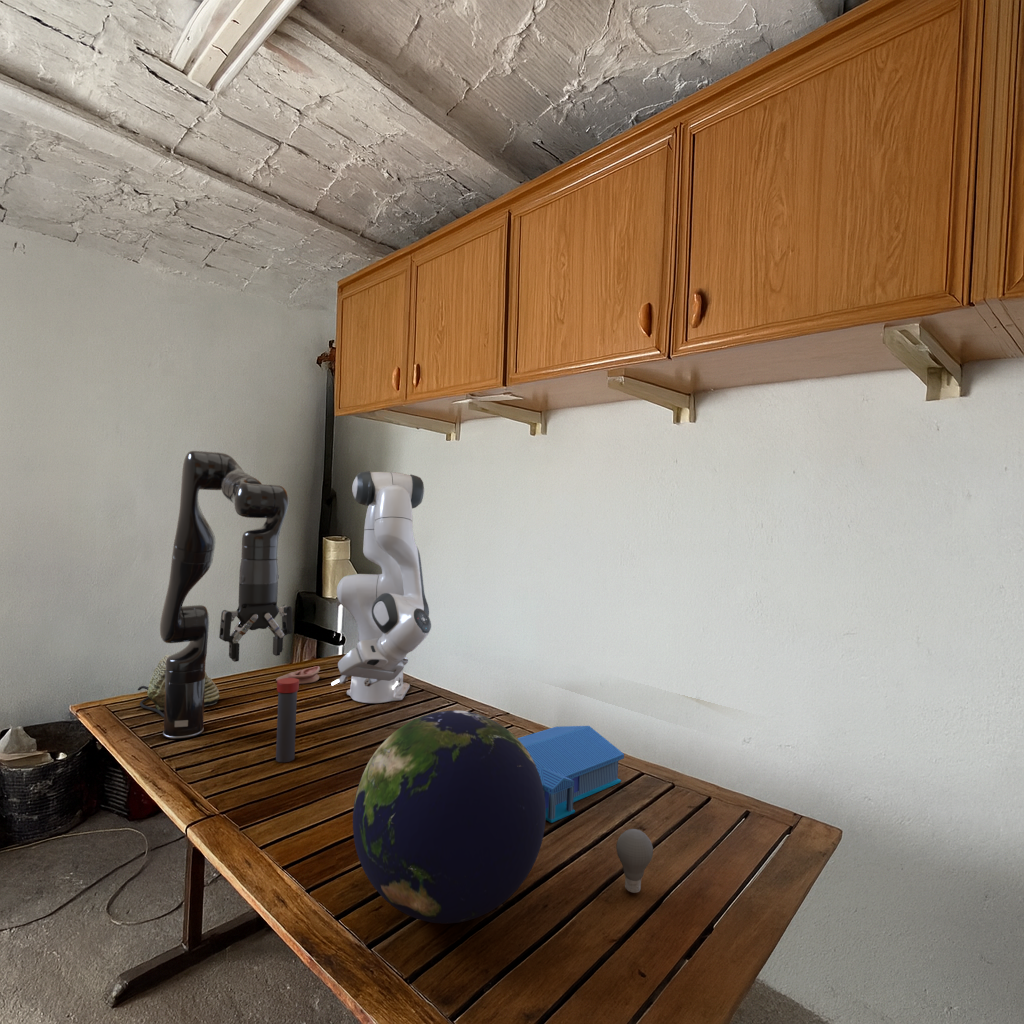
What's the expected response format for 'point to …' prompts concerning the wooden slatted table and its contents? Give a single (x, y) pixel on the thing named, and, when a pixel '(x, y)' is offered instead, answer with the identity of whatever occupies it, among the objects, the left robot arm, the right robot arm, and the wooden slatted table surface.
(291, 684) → the lid
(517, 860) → the globe
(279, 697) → the dark gray cylinder
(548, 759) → the model building
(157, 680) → the fossil
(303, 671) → the anatomical model
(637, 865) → the light bulb
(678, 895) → the wooden slatted table surface
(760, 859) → the wooden slatted table surface
